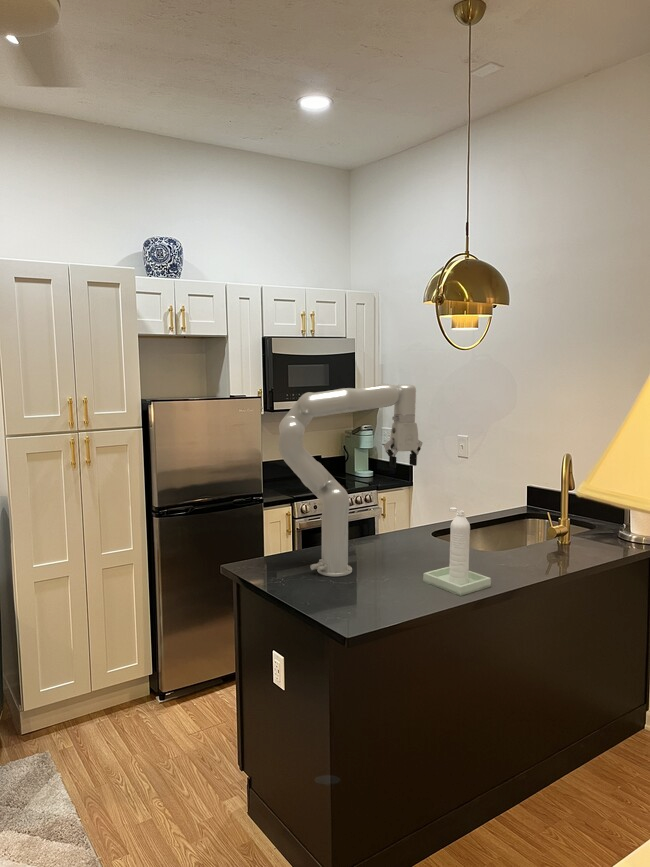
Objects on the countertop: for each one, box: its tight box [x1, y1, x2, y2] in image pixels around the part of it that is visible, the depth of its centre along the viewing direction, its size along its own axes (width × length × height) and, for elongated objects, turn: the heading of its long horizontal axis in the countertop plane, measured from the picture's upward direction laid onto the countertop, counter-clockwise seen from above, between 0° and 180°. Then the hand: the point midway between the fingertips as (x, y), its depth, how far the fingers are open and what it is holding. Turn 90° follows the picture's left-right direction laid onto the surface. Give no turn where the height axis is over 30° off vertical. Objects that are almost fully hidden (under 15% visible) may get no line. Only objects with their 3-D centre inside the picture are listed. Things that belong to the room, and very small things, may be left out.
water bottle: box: [448, 506, 471, 585], centre depth 221 cm, size 9×6×25 cm
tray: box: [422, 566, 492, 597], centre depth 222 cm, size 15×17×3 cm
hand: (402, 466), depth 235 cm, fingers open, 9 cm apart
